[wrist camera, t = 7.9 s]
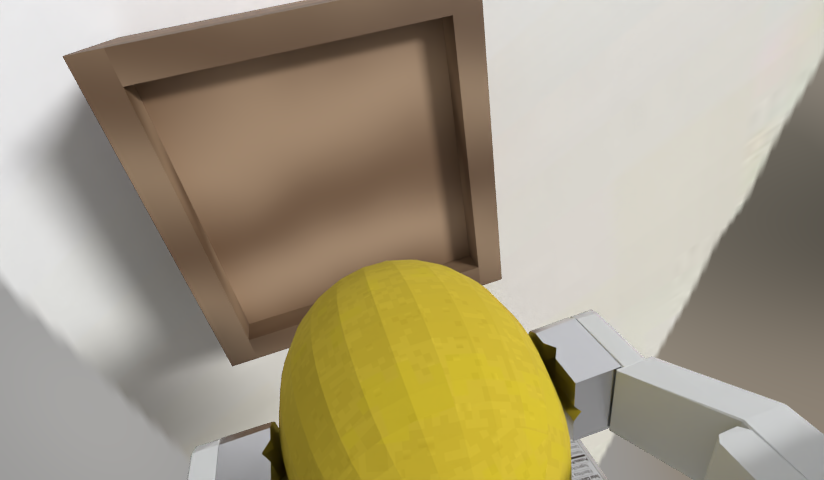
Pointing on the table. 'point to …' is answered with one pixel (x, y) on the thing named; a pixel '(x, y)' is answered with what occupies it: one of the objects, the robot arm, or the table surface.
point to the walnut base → (303, 150)
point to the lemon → (417, 384)
